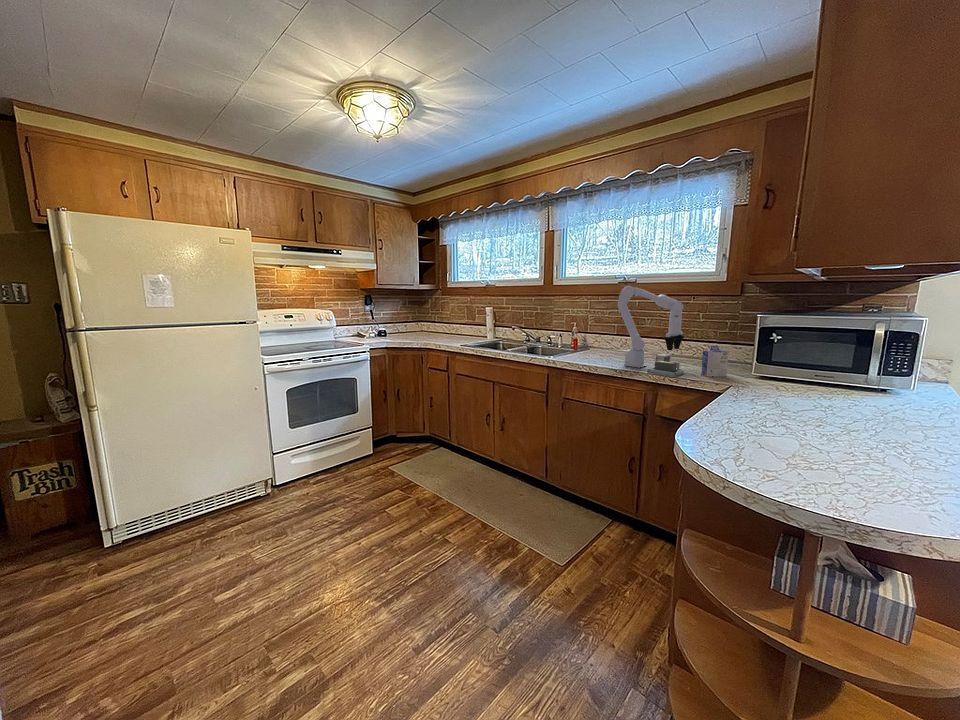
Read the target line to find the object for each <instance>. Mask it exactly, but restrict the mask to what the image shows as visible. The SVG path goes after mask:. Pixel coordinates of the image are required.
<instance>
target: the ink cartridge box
mask: <svg viewBox="0 0 960 720" xmlns="http://www.w3.org/2000/svg"><path fill="white" fill-rule="evenodd" d="M701 357H702V358H701V374H702V375H701V374H700V375H701V376H703V375H704V377H706V376H707V377H708V378H710V377H712V376H713V377H727V374H728V365H729V364H728V362H729V351H727V350H725V349H720V347H719V345H710V350H702V356H701Z"/></svg>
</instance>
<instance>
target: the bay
mask: <svg viewBox="0 0 960 720" xmlns="http://www.w3.org/2000/svg"><path fill="white" fill-rule="evenodd" d="M672 356H673V354H672V353H660V354H655V361H666V362H673V363H677V365H676V368H677V370H681V368H680V367H681V362H679V361H672V360H671V359H672Z"/></svg>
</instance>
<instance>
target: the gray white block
mask: <svg viewBox="0 0 960 720" xmlns="http://www.w3.org/2000/svg"><path fill="white" fill-rule="evenodd" d="M673 362H674V361H672V362H666V361H656V360H655V361H654V366H653V367H654V369H655V370H662V371H668V372H676V365H677V363H673Z"/></svg>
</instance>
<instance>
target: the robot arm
mask: <svg viewBox="0 0 960 720" xmlns="http://www.w3.org/2000/svg"><path fill="white" fill-rule="evenodd" d="M632 297H643V298H645V299H647V300H648V299H649V300H652V301H653V302H655V305H657V306H659V307H662V308H664V309H666V310H670V314H669V318H668V319H669V320H668V321H669V322H668V332H666V333H665V335H664V336H663V340H664V341H665V344H666V349H667V351H669V352H670V351H673V349H674V350H679V349H680V347H681V344H682V341H683V339H685V335H683V334H684V333H683V331H682V321H683V320H682V319H683V315H682V314H683V310H684V308H685V307H684V305H683V302H682V301H680V300H677V299H676V298H671V297H669V296H668V295H667V294H659V295H656V294H654V293H653V292H650V291H647V290H645V289H642V288H639V287H635V286H634V287H633V286H631V285H626V286H624V287H623V288H622V289H621V291H620V293H619V295H618V301H617V307H618V308H617V309H618V310H619V313H620V315H621V318H622V320H623V322H624V324H625V327H626V330H627V332H628V334H629V338H630V340H631V348H628V349H627V350H626V351H625V353H624V364H623V366H626V367H633V368H640V367H641V368H644V366H645V367H647V366H648V365H647V364H644V363H645V346H646V345H645V341H644V339H643V338H642V337H641V336H640V334H639V331H638V330H637V326H636V324H635V322H634V319H633V317H632V315H631V312H630V310H629V307H628V304H629V301H630V299H631V298H632Z"/></svg>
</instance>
